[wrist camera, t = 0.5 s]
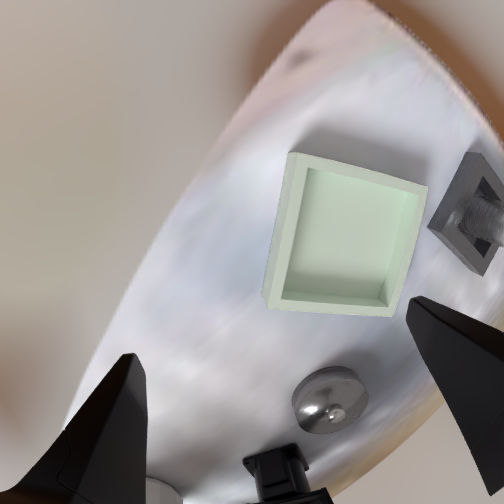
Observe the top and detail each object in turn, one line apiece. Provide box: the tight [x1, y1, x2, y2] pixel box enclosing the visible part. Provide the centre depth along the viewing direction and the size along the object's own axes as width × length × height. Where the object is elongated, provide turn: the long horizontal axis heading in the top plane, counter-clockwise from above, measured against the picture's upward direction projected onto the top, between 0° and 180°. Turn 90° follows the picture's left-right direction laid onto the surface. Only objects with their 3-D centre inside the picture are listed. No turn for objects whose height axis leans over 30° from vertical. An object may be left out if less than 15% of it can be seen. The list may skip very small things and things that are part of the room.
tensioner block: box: [427, 152, 504, 277], centre depth 24 cm, size 8×8×2 cm
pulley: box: [292, 366, 368, 434], centre depth 27 cm, size 7×7×3 cm
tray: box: [262, 152, 429, 317], centre depth 22 cm, size 11×11×2 cm
